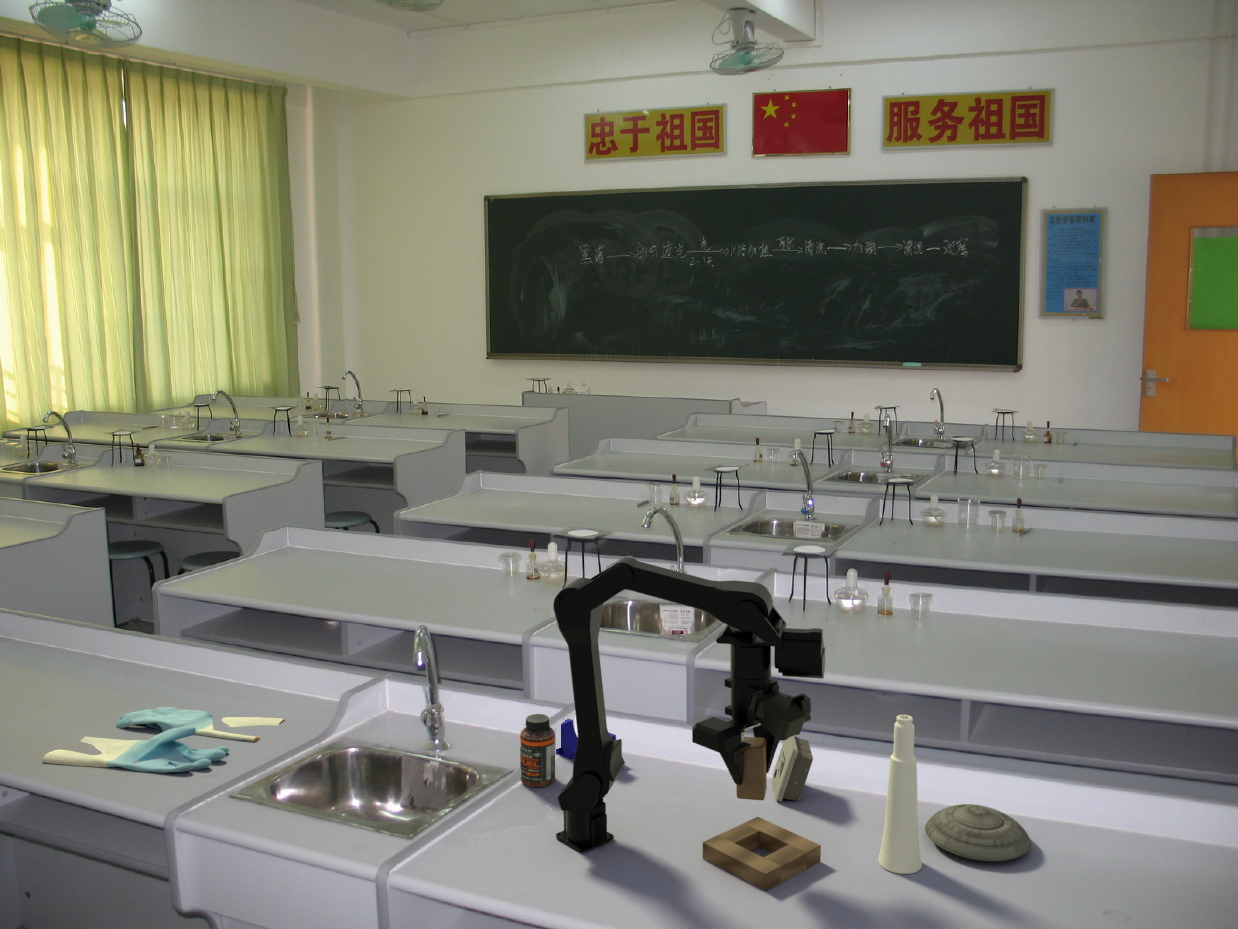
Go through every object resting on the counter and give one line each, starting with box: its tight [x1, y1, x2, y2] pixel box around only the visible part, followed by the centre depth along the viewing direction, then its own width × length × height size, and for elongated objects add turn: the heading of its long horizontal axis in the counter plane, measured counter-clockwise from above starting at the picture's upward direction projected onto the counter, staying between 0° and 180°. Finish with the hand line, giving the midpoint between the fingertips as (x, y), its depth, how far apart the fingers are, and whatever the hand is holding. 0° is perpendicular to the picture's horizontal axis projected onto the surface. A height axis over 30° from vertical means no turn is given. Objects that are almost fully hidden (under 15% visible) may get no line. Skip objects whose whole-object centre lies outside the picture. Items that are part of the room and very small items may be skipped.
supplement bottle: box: [519, 713, 556, 788], centre depth 180 cm, size 6×6×11 cm
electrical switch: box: [771, 735, 814, 803], centre depth 176 cm, size 9×5×9 cm, turn 176°
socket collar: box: [702, 816, 822, 892], centre depth 154 cm, size 12×12×2 cm
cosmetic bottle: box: [878, 714, 923, 875], centre depth 151 cm, size 6×6×22 cm
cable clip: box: [555, 718, 623, 761], centre depth 190 cm, size 12×4×6 cm, turn 48°
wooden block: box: [735, 736, 768, 801], centre depth 152 cm, size 4×4×8 cm
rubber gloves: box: [41, 706, 285, 774], centre depth 199 cm, size 27×33×6 cm
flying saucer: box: [924, 803, 1032, 862], centre depth 159 cm, size 15×15×6 cm
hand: (751, 778), depth 152 cm, fingers closed on wooden block, 5 cm apart
